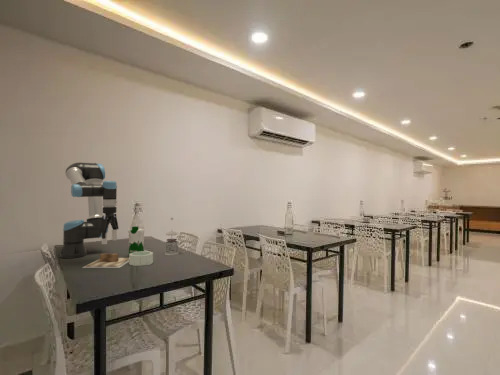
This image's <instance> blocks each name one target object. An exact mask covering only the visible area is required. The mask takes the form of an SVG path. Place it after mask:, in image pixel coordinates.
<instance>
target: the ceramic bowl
mask: <svg viewBox="0 0 500 375" xmlns="http://www.w3.org/2000/svg"><path fill="white" fill-rule="evenodd" d="M128 258H129V262H128V263H129V265H130V266H133V267H135V266H136V267H139V266H150V265H152V264H153V263H154V252H153V251H150V250H149V251H148V250H144V251H139V252H133V253H130V254H129V253H128Z"/></svg>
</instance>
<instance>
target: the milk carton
mask: <svg viewBox="0 0 500 375" xmlns="http://www.w3.org/2000/svg"><path fill="white" fill-rule="evenodd" d="M145 230H146V229H145V228H139V226H131V229H127V232H128V255H129V254H130V253H133V252H139V251H145V248H144V245H145V241H144V240H145Z"/></svg>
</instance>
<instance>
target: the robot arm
mask: <svg viewBox="0 0 500 375" xmlns="http://www.w3.org/2000/svg"><path fill="white" fill-rule="evenodd" d="M105 169H106V168H105V167H104V165H103V164H102V163H97V162H94V163H93V162H74V163H72V164H69V165H68V167H67V168H66V169H65V176H66V178H67V179H68V180H70V182H71V187H70V195H71V196H72V197H75V198H87V205H88V217H87V219H86V221H85V220H84V219H76V220H71V221H67V222H64V224H63V228H62V231H63V232H62V233H63V236H62V238H63V240H62V242H63V245H62V248H61V249H60V253H59V258H61V259H74V258H75V259H76V258H83V257H85V256H86V255H87V254H88V253H87V249H86V246H85V243H84V242H85V241H84V240H89V239H100V238H101V245H107V244H108V232H109V225H111V228H112V229H111V241H117V239H118V230H119V228H120V227H119V223H118V222H119V221H118V218H117V214H116V213H117V207H116V206H117V203H118V200H117V195H118V194H117V192H118V191H117V190H118V189H117V188H118V186H117V182H116V181H114V180H105V178H106V170H105Z"/></svg>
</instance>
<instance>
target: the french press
mask: <svg viewBox="0 0 500 375" xmlns="http://www.w3.org/2000/svg"><path fill="white" fill-rule="evenodd" d="M170 220H174V217H170ZM178 234H179V233H178V232H176V231H173V230H171V231H168V232H167V233H165V235H166V236H176V235H177V236H176V238H167V239H166V242H165V252H164V256H165V255H167V256H176V255H179V254H180V253H179V251H178V250H179V249H178V247H180V246H181V244H182V240H183V239H182V237H181V236H179V235H178ZM178 239H179V242H180V243H179V244H178V241H177V240H178Z"/></svg>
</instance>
